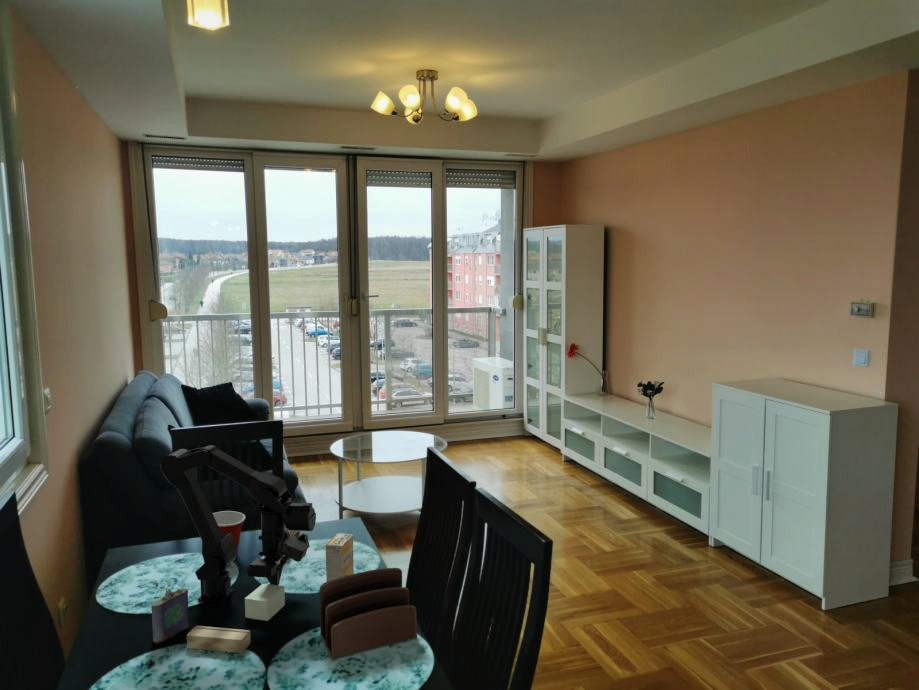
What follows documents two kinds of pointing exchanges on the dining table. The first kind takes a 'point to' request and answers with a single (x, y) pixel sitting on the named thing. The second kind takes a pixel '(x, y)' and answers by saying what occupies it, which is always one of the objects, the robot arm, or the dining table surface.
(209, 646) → the wooden bar
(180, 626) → the flask
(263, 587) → the block
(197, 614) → the dining table surface
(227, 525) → the plastic cup
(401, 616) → the letter holder
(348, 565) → the supplement box
